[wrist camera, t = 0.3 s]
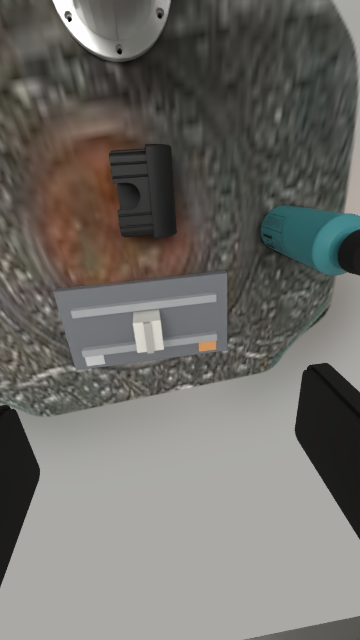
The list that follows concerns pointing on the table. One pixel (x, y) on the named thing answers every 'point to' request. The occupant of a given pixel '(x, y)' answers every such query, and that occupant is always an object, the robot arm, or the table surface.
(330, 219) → the beverage bottle
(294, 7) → the table surface
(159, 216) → the end cap
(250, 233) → the table surface
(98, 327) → the breaker panel
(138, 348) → the knob
